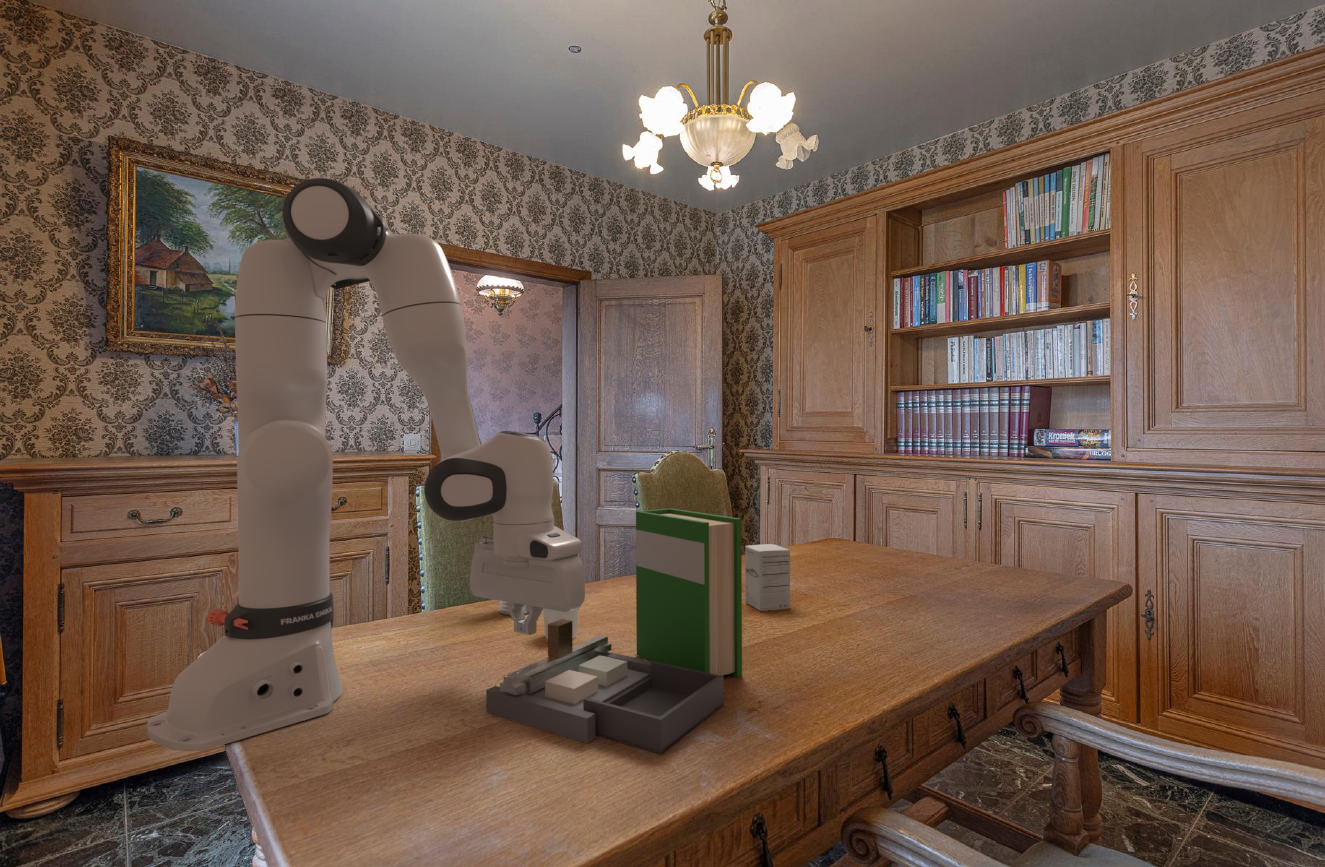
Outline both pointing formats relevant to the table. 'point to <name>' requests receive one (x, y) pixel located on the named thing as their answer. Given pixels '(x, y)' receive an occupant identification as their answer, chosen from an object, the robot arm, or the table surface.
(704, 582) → the hardback book
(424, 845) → the table surface
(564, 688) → the cream tile
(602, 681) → the sage tile
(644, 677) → the grey railed tray
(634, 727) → the box
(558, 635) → the bar
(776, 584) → the supplement box
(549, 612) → the white cup
